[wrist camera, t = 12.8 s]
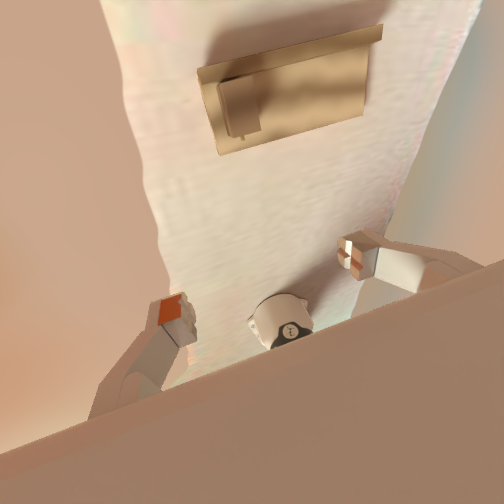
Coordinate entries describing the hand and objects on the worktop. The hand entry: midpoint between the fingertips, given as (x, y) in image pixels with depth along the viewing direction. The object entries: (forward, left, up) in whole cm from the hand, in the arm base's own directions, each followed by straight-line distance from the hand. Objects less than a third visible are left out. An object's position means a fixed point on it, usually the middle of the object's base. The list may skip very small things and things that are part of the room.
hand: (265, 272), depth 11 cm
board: (+6, -15, -31) cm, 35 cm away
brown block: (+6, -6, -29) cm, 30 cm away
